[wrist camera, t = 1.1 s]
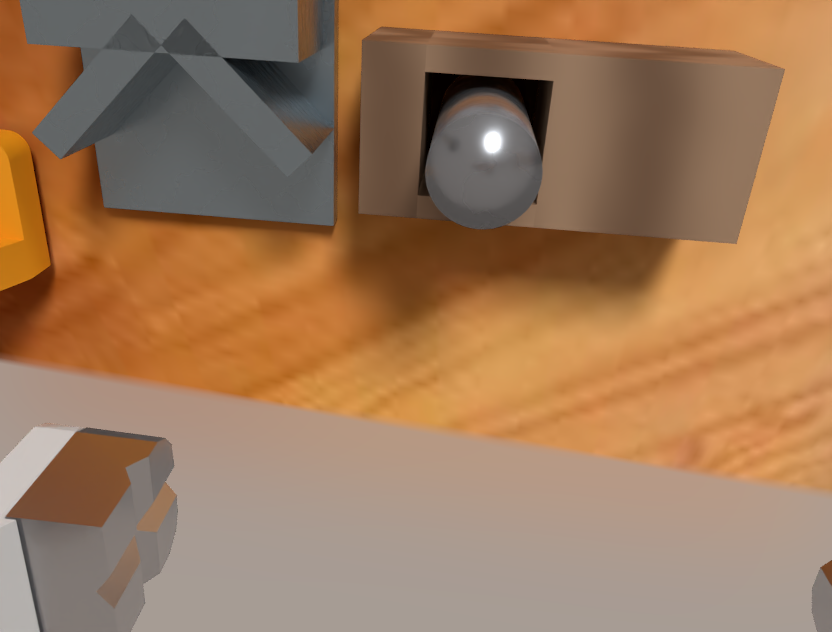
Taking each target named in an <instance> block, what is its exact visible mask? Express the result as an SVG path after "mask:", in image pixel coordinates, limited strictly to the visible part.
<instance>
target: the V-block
mask: <svg viewBox="0 0 832 632" xmlns="http://www.w3.org/2000/svg"><path fill="white" fill-rule="evenodd" d="M338 1H339V0H20V5H21V10H22V16H23V22H24V27H25V33H26V38H27V44H40V45H54V46H69V47H81V54H82V61H83V68H84V71H83V73H82V74H81V75H80V76H79V77H78V79H77V80H76V81H75V82H74V83H73V84H72V86H71V87H70V88H69V89H68V90H67V92H66V93H65V94H64V95H63V96H62V98H61V99H60V100H59V101H58V102H57V104H56V105H55V106H54V107H53V108H52V110H51V111H50V112H49V113H48V114H47V115H46V117H45V118H44V119H43V120H42V121H41V123H40V124H39V125H38V126H37V127H36V129H35V130H34V131H33V132H32V133H33V134H34V135H35V136H36V137H37V138H38V139H39V140H40V141H41V142H43V143H44V144H45V145H46V146H47V147H48V148H49V149H50V150H51V151H52V152H53V153H54V154H55V155H56V156H58V157H59V158H60V159H62V158H65V157H67V156H69V155H71V154H73V153H75V152H77V151H79V150H81V149H83V148H85V147H88V146H90V145H92V144H94V143H95V149H96V155H97V162H98V169H99V176H100V182H101V189H102V196H103V203H104V207H107V208H119V209H131V210H144V211H156V212H168V213H181V214H193V215H205V216H218V217H230V218H242V219H254V220H267V221H279V222H291V223H304V224H316V225H328V226H334V224H335V222H336V221H337V156H338Z"/></svg>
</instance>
